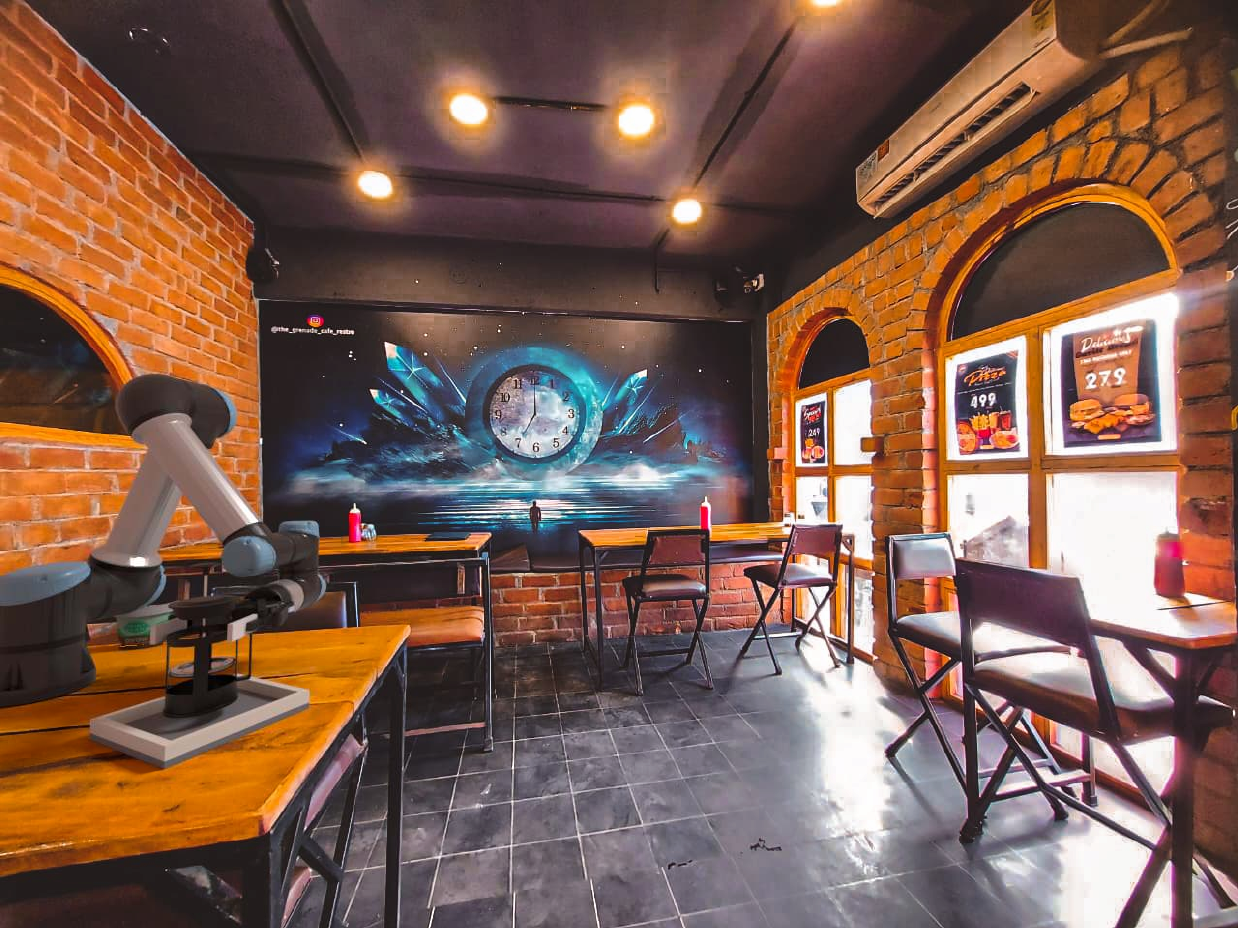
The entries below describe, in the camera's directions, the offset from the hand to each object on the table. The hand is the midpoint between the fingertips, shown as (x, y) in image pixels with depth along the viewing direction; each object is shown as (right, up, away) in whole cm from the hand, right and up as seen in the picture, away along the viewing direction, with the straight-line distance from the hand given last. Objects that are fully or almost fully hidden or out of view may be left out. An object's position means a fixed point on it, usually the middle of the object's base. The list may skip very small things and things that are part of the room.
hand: (191, 634), depth 77 cm
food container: (-48, -18, +42) cm, 66 cm away
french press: (-1, -13, +3) cm, 13 cm away
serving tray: (-1, -16, +3) cm, 16 cm away
